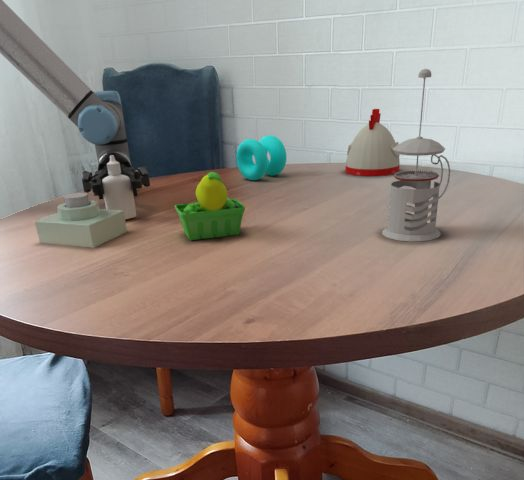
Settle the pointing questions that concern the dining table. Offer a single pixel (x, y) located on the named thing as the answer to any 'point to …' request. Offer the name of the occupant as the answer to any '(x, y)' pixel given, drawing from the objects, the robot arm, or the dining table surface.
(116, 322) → the dining table surface
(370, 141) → the kitchen timer
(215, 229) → the fruit basket
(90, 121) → the robot arm
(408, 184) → the french press
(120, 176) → the eye dropper bottle
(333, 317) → the dining table surface
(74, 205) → the grayish pink short cylinder
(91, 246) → the push button box
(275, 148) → the donuts
